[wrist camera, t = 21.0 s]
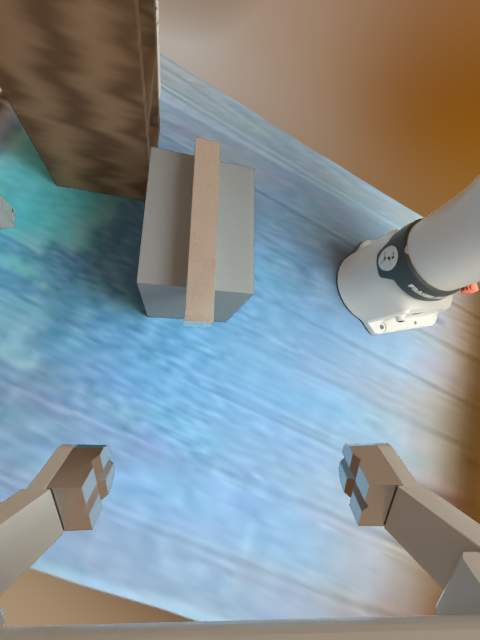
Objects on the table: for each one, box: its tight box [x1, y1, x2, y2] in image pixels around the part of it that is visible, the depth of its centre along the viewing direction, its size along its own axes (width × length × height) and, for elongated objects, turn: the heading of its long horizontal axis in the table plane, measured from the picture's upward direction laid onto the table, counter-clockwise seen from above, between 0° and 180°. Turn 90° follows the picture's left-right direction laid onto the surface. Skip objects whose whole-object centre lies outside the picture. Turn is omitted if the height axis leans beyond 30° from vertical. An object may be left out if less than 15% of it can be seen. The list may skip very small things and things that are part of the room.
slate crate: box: [137, 147, 254, 322], centre depth 37 cm, size 12×16×15 cm
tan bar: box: [183, 138, 220, 328], centre depth 28 cm, size 3×20×3 cm, turn 0°
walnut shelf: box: [0, 0, 160, 201], centre depth 33 cm, size 14×15×26 cm
